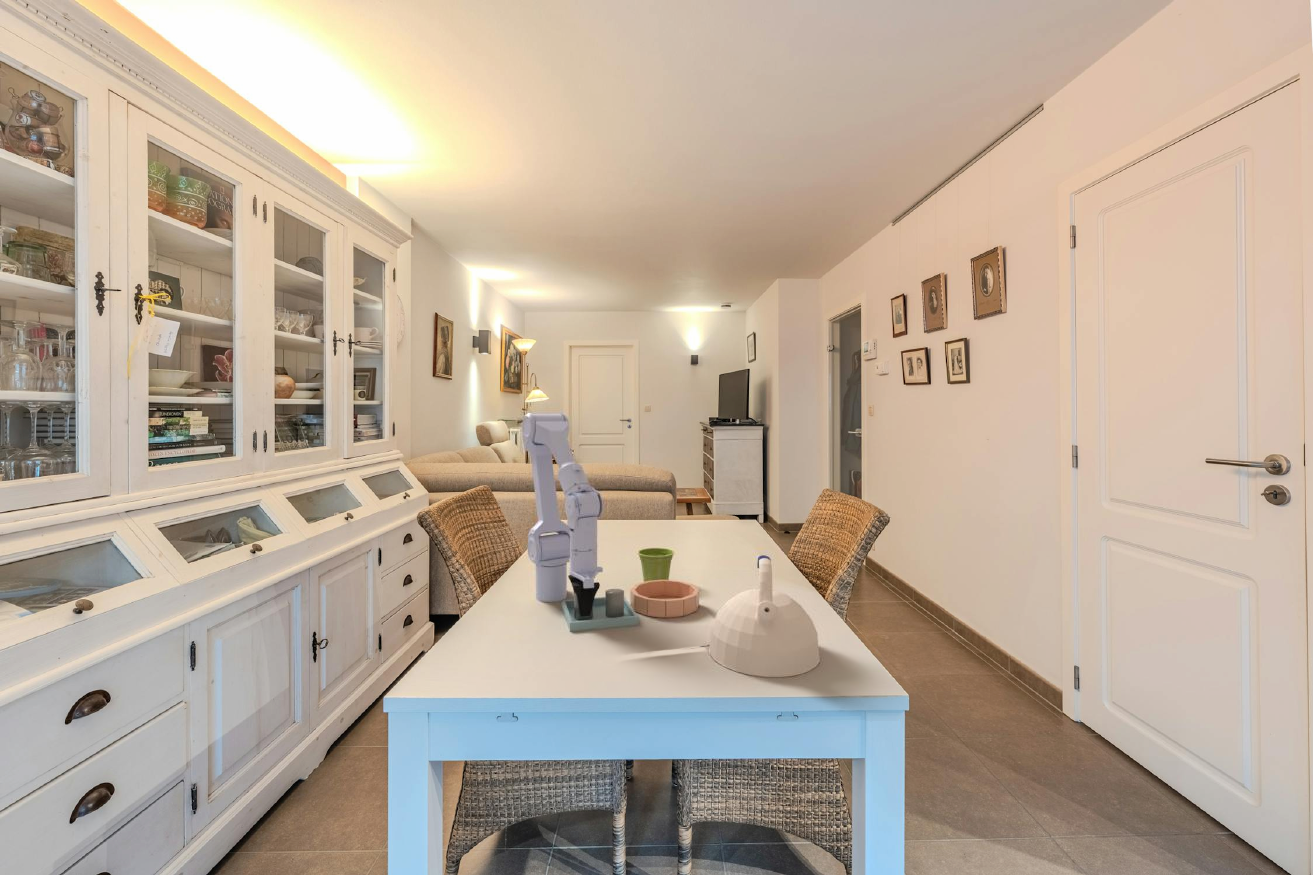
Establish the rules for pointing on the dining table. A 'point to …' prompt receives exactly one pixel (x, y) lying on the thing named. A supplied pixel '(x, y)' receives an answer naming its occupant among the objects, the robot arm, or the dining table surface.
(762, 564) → the kettle
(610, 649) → the dining table surface
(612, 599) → the slate pebble
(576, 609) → the charcoal pebble
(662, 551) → the plant pot
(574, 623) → the parts tray
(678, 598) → the terracotta bowl
